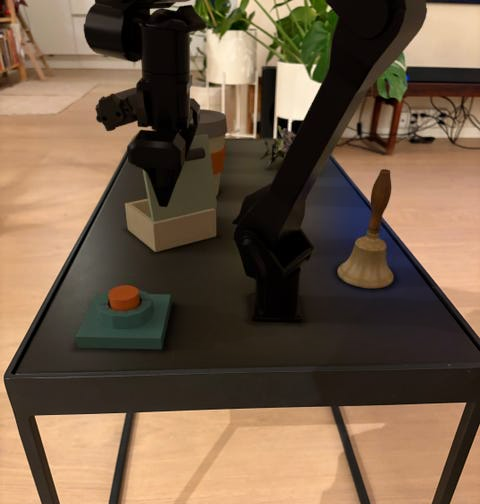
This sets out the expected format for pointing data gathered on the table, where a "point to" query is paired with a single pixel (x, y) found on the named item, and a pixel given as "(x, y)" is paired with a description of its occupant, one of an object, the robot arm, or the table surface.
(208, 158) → the lid
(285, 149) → the passion flower
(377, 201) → the hand bell
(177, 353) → the table surface
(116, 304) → the button
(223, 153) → the reusable coffee cup
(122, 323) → the control box
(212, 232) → the shallow tan tray
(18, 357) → the table surface
